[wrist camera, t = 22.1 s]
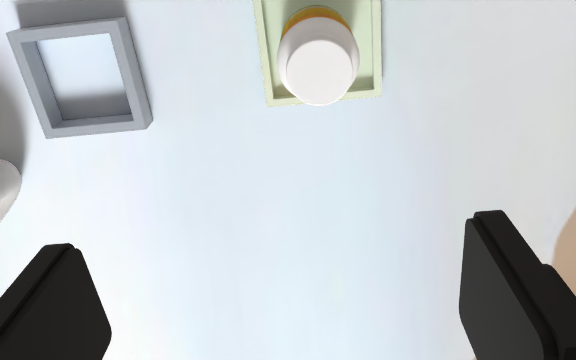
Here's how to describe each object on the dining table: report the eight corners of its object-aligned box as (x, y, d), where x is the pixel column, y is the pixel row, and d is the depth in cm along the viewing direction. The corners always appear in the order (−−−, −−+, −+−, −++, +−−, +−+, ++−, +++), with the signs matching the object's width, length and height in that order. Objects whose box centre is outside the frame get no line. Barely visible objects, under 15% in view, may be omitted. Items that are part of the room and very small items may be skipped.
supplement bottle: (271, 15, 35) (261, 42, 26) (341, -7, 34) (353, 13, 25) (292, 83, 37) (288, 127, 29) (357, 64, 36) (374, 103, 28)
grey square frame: (20, 28, 36) (5, 32, 35) (125, 16, 36) (116, 20, 34) (57, 129, 40) (46, 138, 39) (153, 120, 40) (146, 129, 38)
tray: (252, -17, 34) (250, -16, 33) (376, -32, 34) (379, -31, 32) (268, 101, 39) (267, 107, 37) (379, 90, 38) (381, 96, 37)
